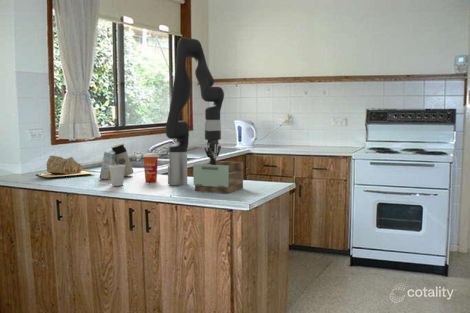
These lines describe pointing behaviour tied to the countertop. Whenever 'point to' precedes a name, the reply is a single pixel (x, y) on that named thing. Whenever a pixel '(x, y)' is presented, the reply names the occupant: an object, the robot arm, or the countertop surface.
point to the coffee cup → (150, 166)
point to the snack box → (107, 164)
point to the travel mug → (122, 158)
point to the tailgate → (211, 175)
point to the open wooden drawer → (234, 179)
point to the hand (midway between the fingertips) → (213, 166)
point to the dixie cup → (117, 174)
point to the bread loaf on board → (63, 167)
